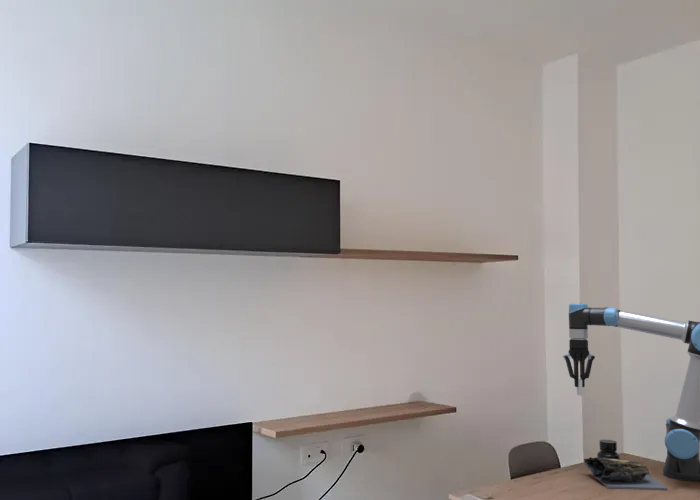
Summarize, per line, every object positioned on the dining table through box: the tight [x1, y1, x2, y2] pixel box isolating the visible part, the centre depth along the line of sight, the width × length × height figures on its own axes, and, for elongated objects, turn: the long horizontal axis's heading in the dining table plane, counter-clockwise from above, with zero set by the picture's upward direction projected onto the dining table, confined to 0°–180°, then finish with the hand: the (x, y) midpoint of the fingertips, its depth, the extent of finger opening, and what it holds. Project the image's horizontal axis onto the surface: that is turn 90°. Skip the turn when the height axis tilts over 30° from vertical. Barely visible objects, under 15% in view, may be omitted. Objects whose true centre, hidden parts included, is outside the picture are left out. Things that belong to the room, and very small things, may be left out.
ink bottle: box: [596, 439, 621, 459], centre depth 270 cm, size 10×9×12 cm
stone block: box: [583, 456, 650, 482], centre depth 254 cm, size 18×9×20 cm
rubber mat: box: [597, 474, 668, 491], centre depth 251 cm, size 22×19×1 cm
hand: (579, 394), depth 270 cm, fingers closed
